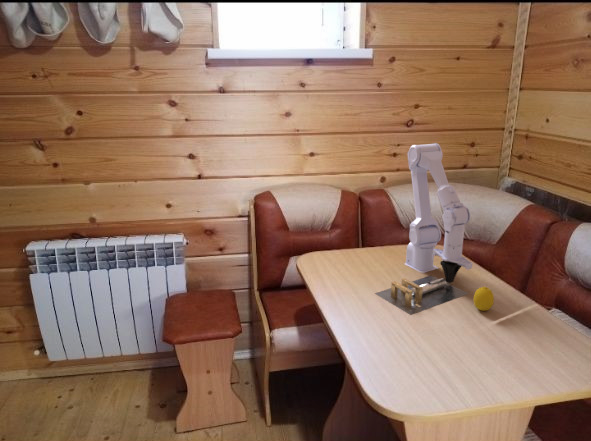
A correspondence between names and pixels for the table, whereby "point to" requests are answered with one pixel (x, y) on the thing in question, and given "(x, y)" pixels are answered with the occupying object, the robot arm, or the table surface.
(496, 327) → the table surface
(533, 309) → the table surface
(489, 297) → the lemon
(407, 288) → the plate
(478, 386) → the table surface
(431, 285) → the tube
